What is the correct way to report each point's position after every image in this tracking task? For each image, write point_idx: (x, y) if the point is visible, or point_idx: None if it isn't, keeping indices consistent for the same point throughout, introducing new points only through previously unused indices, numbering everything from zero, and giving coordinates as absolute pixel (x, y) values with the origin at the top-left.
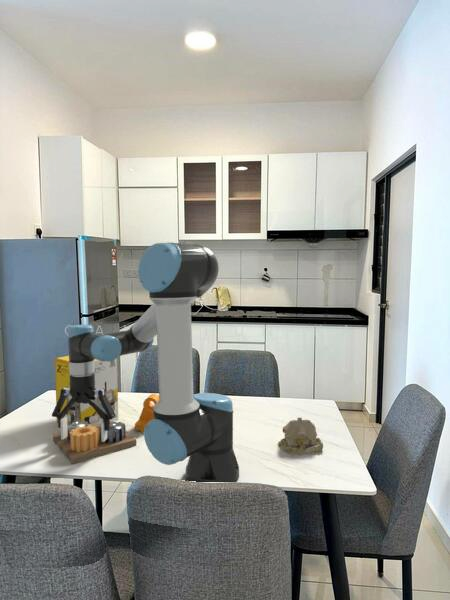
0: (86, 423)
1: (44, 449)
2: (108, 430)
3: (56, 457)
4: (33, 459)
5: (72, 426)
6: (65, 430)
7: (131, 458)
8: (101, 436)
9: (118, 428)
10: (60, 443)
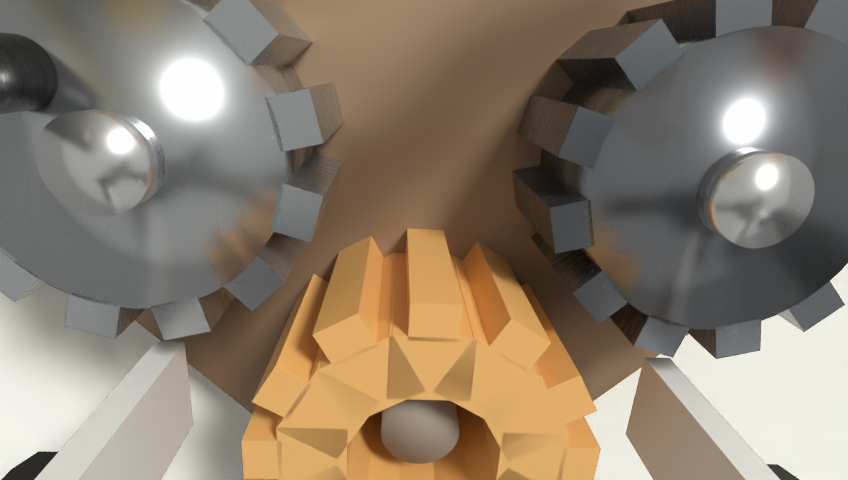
0: (281, 95)
1: (19, 303)
2: (704, 326)
3: (229, 419)
4: None
5: (123, 234)
6: (147, 440)
7: (817, 388)
8: (652, 477)
9: (833, 255)
10: (145, 322)
